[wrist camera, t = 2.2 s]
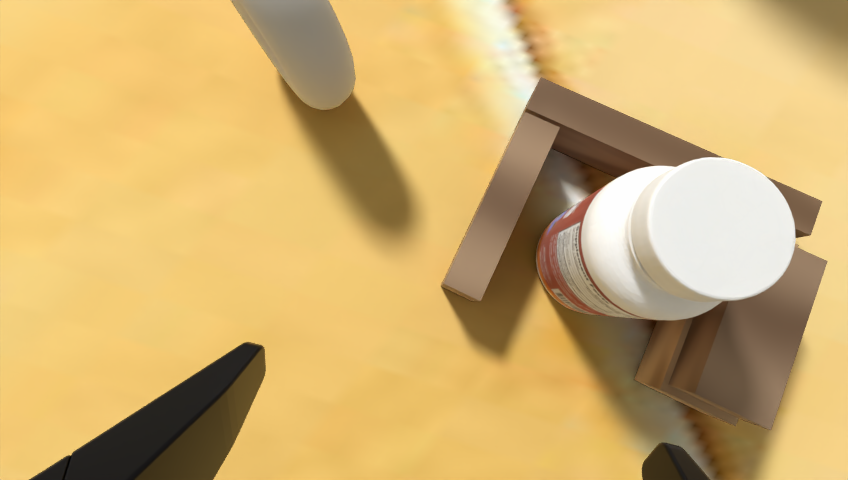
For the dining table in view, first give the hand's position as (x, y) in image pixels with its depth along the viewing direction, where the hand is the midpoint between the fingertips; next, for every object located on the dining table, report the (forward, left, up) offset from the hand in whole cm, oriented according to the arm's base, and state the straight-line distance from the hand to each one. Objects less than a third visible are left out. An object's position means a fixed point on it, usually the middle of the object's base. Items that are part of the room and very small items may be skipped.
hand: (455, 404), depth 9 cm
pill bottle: (+1, -10, -14) cm, 17 cm away
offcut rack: (+1, -11, -14) cm, 18 cm away
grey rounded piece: (+18, +1, -14) cm, 23 cm away
